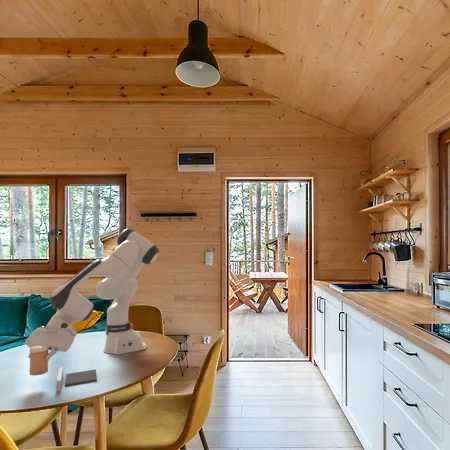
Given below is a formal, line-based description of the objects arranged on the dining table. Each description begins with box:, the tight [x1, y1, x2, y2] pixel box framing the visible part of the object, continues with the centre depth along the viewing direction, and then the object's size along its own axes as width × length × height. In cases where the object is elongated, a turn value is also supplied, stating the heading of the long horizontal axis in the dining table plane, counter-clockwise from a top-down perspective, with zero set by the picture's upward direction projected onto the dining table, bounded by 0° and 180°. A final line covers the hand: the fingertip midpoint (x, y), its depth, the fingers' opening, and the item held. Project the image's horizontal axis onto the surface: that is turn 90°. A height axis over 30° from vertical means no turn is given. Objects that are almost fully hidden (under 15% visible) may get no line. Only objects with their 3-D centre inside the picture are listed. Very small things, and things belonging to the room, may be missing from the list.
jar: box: [29, 345, 50, 377], centre depth 131 cm, size 7×7×10 cm
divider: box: [55, 366, 64, 392], centre depth 134 cm, size 2×16×4 cm, turn 23°
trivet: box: [64, 369, 98, 387], centre depth 139 cm, size 12×12×1 cm
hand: (38, 358), depth 130 cm, fingers closed on jar, 6 cm apart
